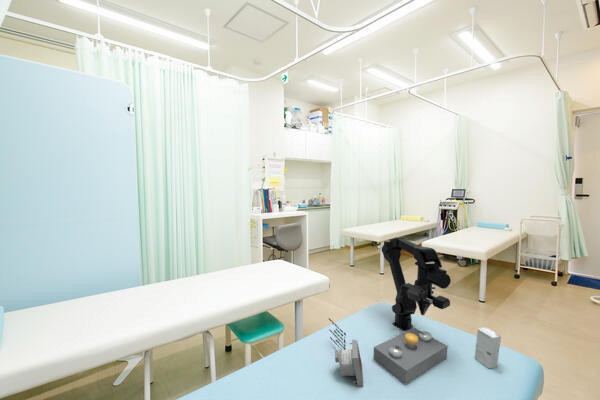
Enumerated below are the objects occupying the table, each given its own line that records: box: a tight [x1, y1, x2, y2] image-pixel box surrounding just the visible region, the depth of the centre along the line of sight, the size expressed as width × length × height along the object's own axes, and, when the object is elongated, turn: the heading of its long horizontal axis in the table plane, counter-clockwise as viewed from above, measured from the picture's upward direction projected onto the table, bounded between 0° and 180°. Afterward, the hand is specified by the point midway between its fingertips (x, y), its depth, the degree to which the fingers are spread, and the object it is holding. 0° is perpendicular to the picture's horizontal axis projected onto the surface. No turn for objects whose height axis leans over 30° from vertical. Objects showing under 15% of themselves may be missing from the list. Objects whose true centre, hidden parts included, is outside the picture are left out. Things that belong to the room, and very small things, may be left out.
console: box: [373, 327, 448, 385], centre depth 98 cm, size 14×25×5 cm, turn 122°
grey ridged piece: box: [328, 318, 364, 387], centre depth 97 cm, size 27×11×10 cm, turn 24°
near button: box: [389, 345, 402, 359], centre depth 94 cm, size 4×4×5 cm
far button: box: [419, 330, 432, 342], centre depth 103 cm, size 4×4×5 cm
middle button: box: [405, 333, 418, 350], centre depth 98 cm, size 4×4×5 cm
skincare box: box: [474, 326, 502, 369], centre depth 97 cm, size 6×4×12 cm
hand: (422, 314), depth 108 cm, fingers closed
